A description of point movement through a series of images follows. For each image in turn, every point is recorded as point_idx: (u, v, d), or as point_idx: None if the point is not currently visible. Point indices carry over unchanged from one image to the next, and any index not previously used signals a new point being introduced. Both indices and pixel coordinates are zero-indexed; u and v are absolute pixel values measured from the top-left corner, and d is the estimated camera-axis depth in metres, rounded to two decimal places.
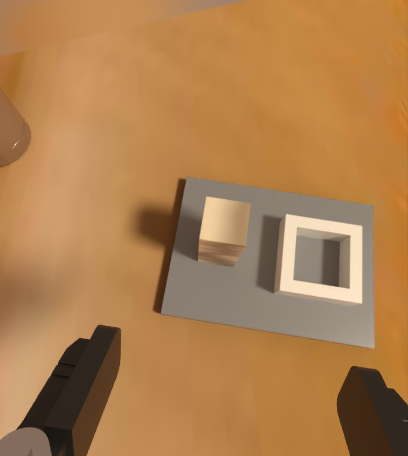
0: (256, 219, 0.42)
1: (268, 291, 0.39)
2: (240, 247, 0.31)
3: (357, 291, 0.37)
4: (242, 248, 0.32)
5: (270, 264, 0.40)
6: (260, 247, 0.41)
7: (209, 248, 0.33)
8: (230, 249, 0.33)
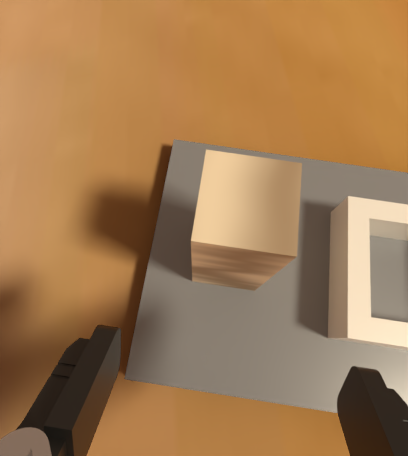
0: None
1: (318, 334, 0.22)
2: (283, 259, 0.14)
3: None
4: (286, 261, 0.14)
5: (319, 285, 0.23)
6: (300, 255, 0.24)
7: (212, 260, 0.16)
8: (259, 262, 0.15)
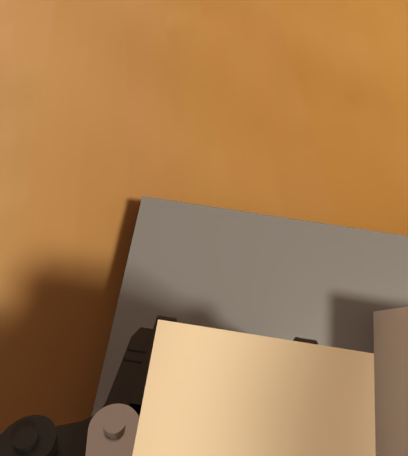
0: (314, 304, 0.17)
1: None
2: None
3: None
4: None
5: None
6: None
7: None
8: None
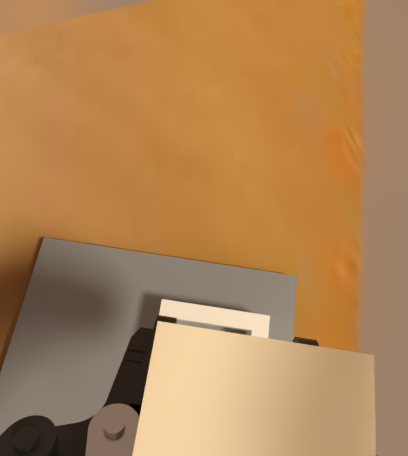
0: (132, 298, 0.31)
1: None
2: None
3: None
4: None
5: None
6: None
7: None
8: None
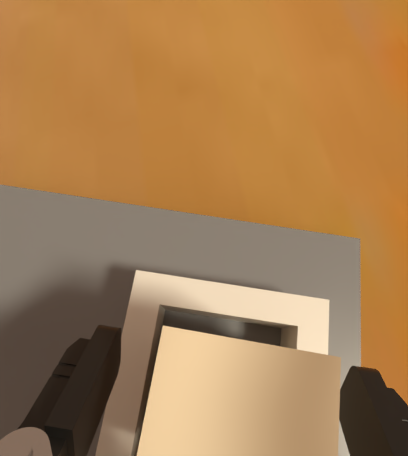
0: (91, 274, 0.18)
1: None
2: None
3: None
4: None
5: None
6: None
7: None
8: None
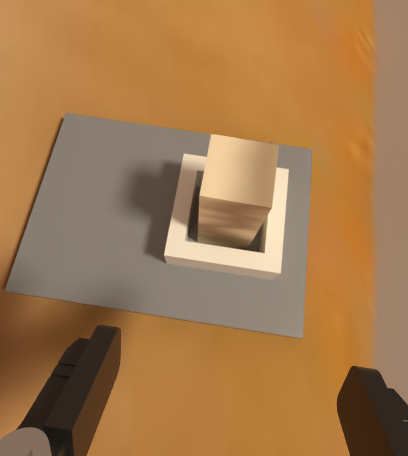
0: (153, 166, 0.31)
1: (160, 260, 0.28)
2: (263, 211, 0.20)
3: (275, 256, 0.26)
4: (266, 213, 0.20)
5: (166, 224, 0.30)
6: (155, 202, 0.30)
7: (214, 215, 0.22)
8: (247, 215, 0.21)
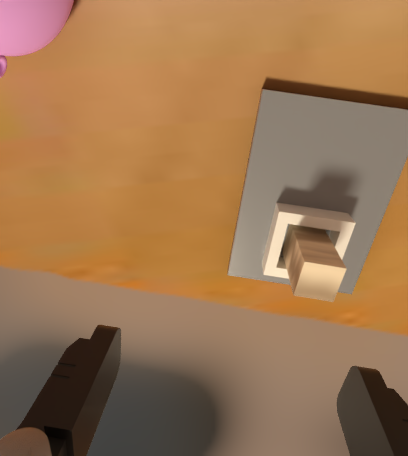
0: (354, 190, 0.40)
1: (278, 198, 0.42)
2: (293, 288, 0.36)
3: (273, 272, 0.43)
4: (292, 288, 0.37)
5: (304, 201, 0.42)
6: (323, 193, 0.41)
7: (297, 256, 0.37)
8: (293, 276, 0.37)
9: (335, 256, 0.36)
